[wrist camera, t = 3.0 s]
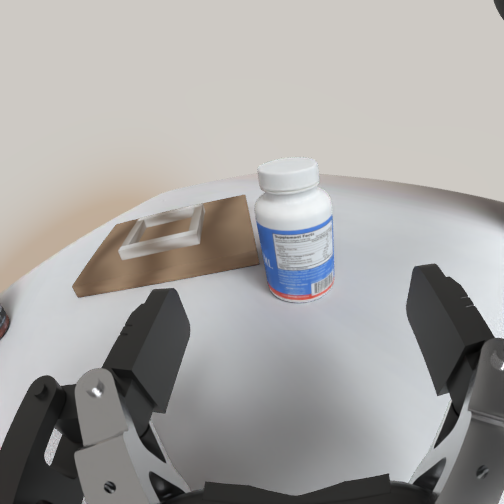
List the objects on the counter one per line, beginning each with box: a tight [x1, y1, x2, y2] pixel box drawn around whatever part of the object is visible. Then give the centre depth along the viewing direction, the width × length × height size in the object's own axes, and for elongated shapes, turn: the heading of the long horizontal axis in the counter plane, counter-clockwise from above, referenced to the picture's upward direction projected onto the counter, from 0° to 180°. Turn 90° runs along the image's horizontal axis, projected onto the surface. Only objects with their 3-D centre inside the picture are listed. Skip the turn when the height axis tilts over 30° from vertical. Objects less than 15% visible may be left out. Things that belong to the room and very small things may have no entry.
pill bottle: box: [255, 157, 334, 303], centre depth 20 cm, size 6×5×10 cm
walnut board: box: [72, 195, 259, 297], centre depth 33 cm, size 20×16×3 cm
